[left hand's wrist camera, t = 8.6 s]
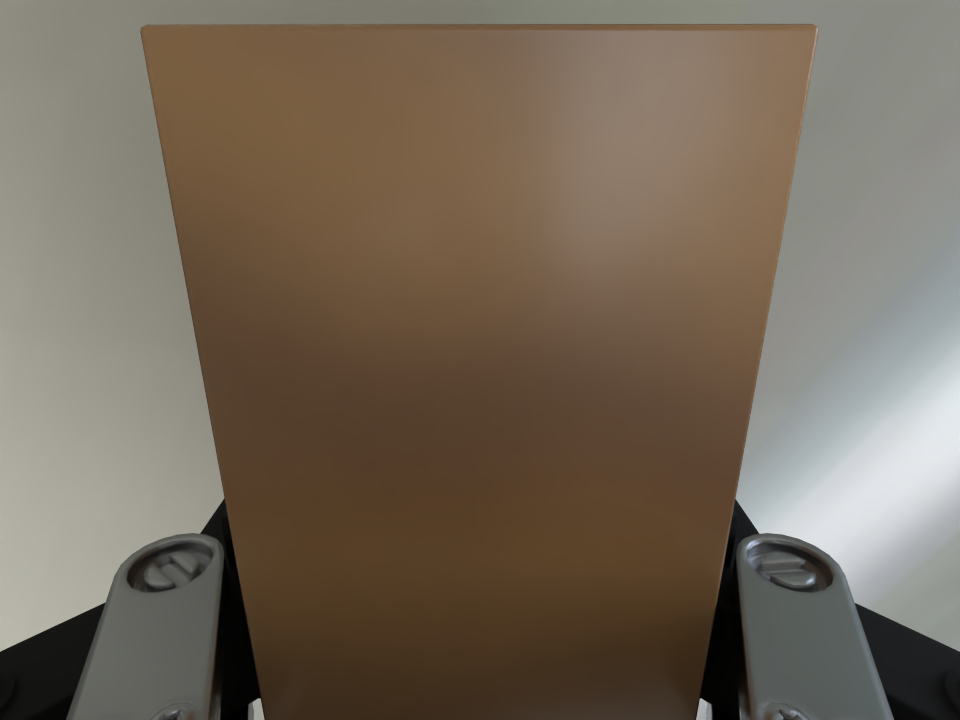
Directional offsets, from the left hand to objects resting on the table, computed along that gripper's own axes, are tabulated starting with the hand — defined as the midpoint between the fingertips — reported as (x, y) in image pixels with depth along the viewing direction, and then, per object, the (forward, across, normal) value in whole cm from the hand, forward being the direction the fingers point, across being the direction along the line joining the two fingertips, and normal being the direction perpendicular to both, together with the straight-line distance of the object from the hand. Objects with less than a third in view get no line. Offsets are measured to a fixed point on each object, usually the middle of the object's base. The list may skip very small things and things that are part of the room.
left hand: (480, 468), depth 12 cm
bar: (+3, 0, -24) cm, 24 cm away
